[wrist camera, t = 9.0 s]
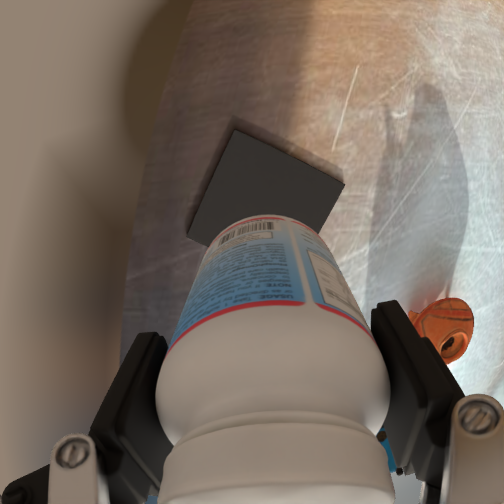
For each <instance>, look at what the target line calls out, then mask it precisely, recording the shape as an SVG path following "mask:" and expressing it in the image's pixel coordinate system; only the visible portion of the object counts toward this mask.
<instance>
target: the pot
mask: <svg viewBox="0 0 504 504" xmlns="http://www.w3.org/2000/svg"><path fill="white" fill-rule="evenodd" d="M408 315H409V319H410V321H411V322H412V324H413V326H414V327H415V329H416V330H417V332H418V333H419V335H420V336H421V337H425V336H426V337H428V338H429V339H430V340H431V342H432V343H433V345H434V346H435V348H436V349H437V351H438V352H439V354H440V356H441V357H442V359H443V360H444V362H445V364H446V365H447V364H449V363H451V362H453V361H455V360H457V359H459V358H460V357H461V356H462V355H463V354H464V353H465V351H466V349H467V347H468V344H469V342H470V340H471V337H472V334H473V327H474V316H473V313H472V310H471V308H470V307H469V306H468V305H467V303H466V302H464V301H463V300H461V299H459V298H445V299H442V300H439V301H436V302H434V303H432V304H430V305H429V306H428V307H426V308H425V309H424V310H423V311H422V312H421V314H418V313H415V312H413V311H409V313H408Z"/></svg>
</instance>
